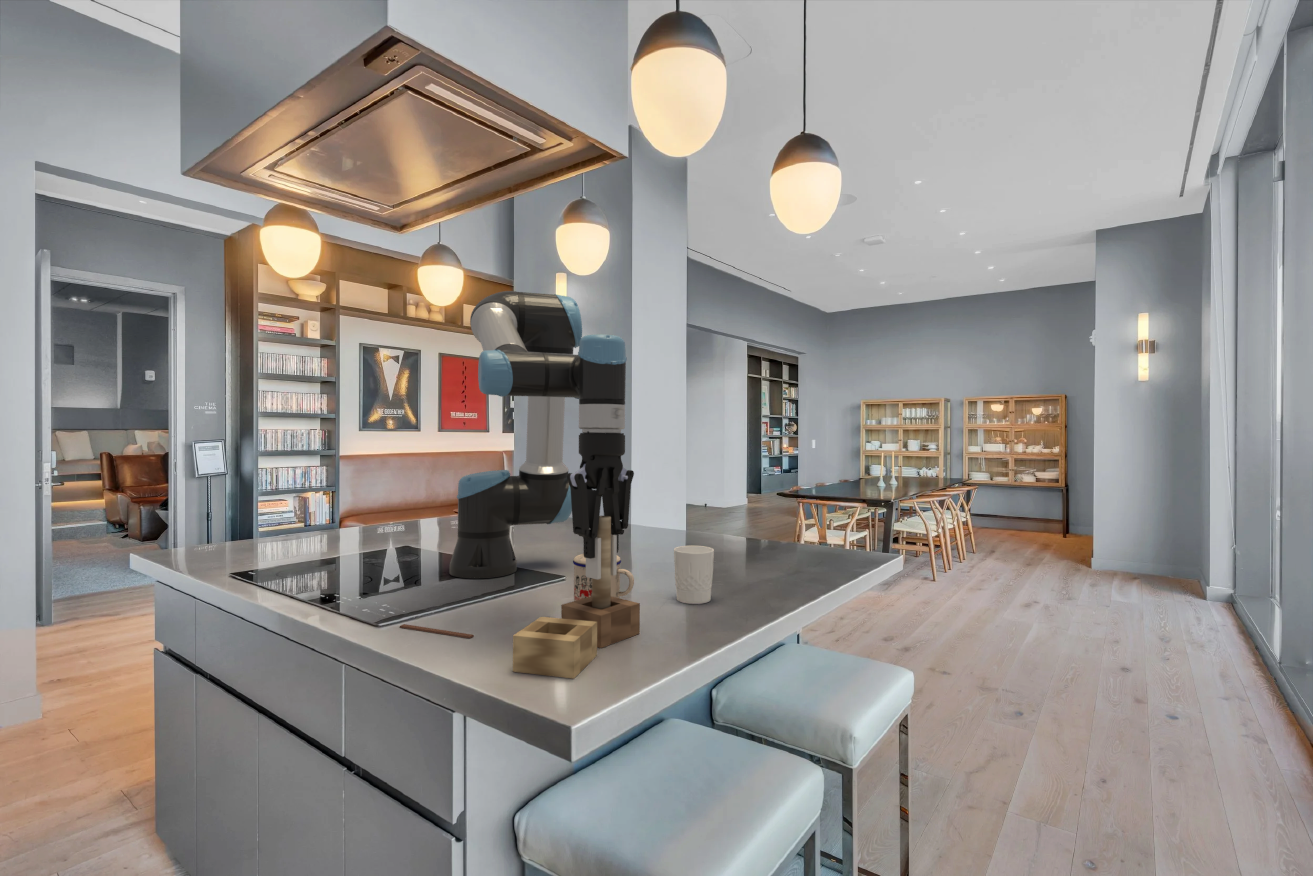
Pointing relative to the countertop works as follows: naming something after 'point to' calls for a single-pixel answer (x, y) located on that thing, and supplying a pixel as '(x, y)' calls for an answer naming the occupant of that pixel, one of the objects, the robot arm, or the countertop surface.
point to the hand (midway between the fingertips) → (601, 575)
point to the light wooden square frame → (555, 647)
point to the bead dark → (606, 618)
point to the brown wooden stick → (437, 631)
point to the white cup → (693, 573)
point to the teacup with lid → (585, 584)
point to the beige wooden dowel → (603, 567)
